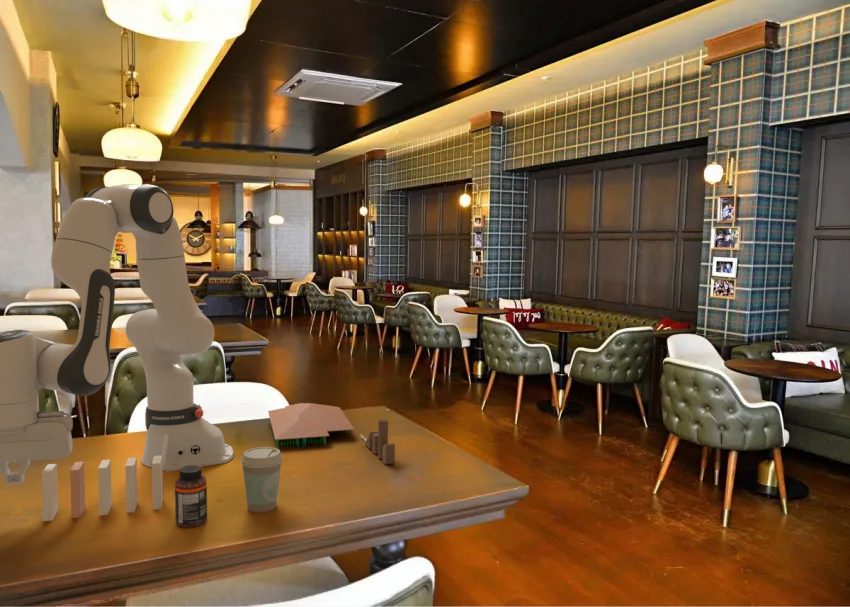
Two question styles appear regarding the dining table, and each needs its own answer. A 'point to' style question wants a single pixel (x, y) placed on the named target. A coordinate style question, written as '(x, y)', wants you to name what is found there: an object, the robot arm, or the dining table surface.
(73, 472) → the domino
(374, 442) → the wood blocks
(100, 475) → the domino
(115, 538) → the dining table surface
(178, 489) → the supplement bottle
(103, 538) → the dining table surface
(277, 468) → the coffee cup
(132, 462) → the domino
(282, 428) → the house
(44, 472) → the domino end
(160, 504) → the domino
